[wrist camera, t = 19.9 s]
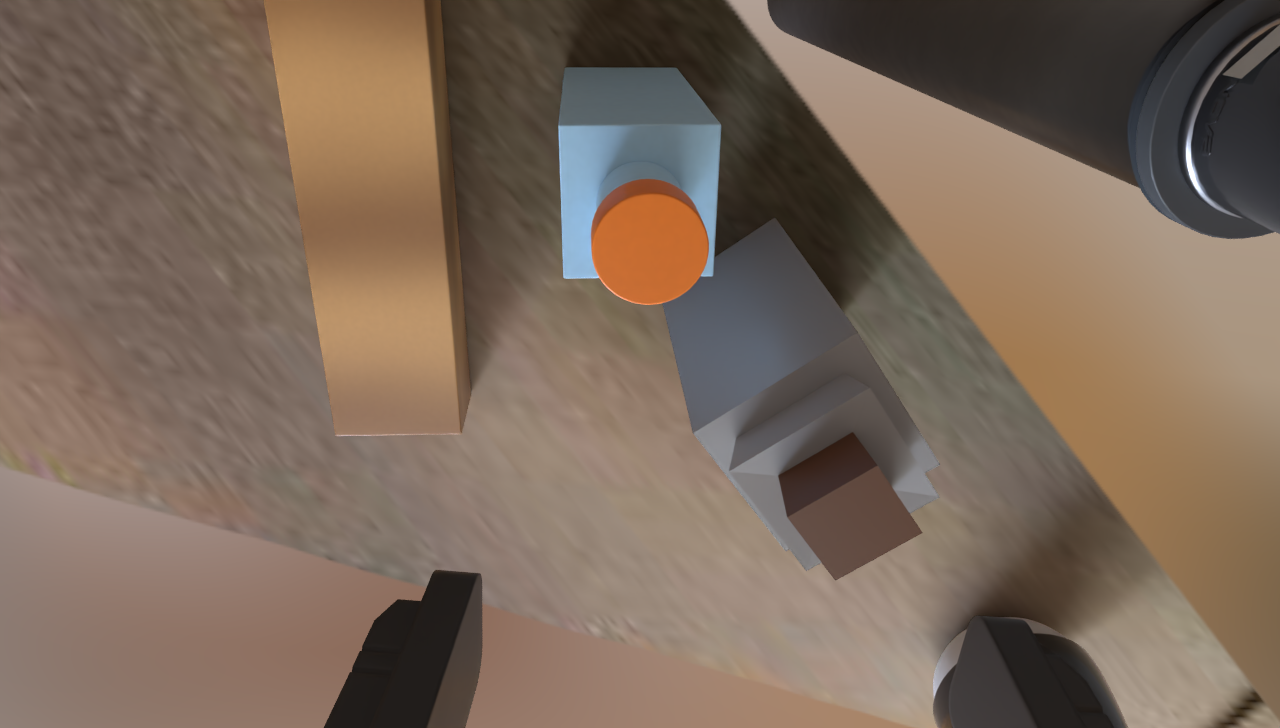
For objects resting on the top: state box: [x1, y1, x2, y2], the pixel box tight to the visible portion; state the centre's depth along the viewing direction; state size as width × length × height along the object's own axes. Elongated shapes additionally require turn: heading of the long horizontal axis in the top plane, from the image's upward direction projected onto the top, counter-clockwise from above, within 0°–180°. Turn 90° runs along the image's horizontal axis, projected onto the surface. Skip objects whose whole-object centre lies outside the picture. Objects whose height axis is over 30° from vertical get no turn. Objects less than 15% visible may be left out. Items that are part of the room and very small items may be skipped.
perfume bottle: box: [663, 218, 940, 580], centre depth 35 cm, size 7×7×18 cm
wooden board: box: [264, 0, 471, 436], centre depth 37 cm, size 22×6×4 cm, turn 179°
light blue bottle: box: [558, 67, 721, 305], centre depth 30 cm, size 18×5×5 cm
